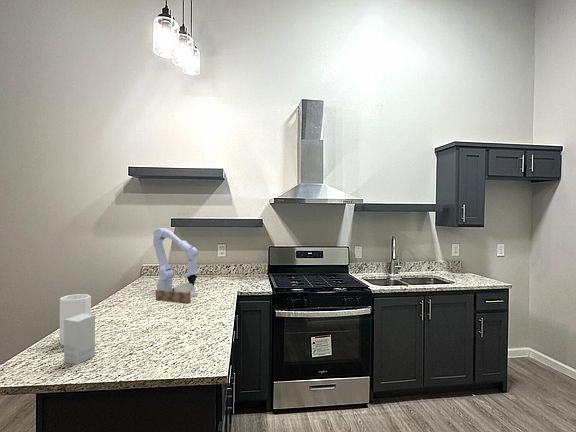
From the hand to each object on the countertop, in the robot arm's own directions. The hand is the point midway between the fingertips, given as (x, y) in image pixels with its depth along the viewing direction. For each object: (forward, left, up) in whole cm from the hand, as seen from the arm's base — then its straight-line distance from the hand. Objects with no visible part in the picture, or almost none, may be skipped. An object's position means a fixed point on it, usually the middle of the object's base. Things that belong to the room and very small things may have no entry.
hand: (191, 286), depth 238 cm
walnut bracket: (0, -16, -5) cm, 17 cm away
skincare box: (+25, -105, -6) cm, 108 cm away
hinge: (0, -9, -6) cm, 10 cm away
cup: (+7, -92, -6) cm, 92 cm away
